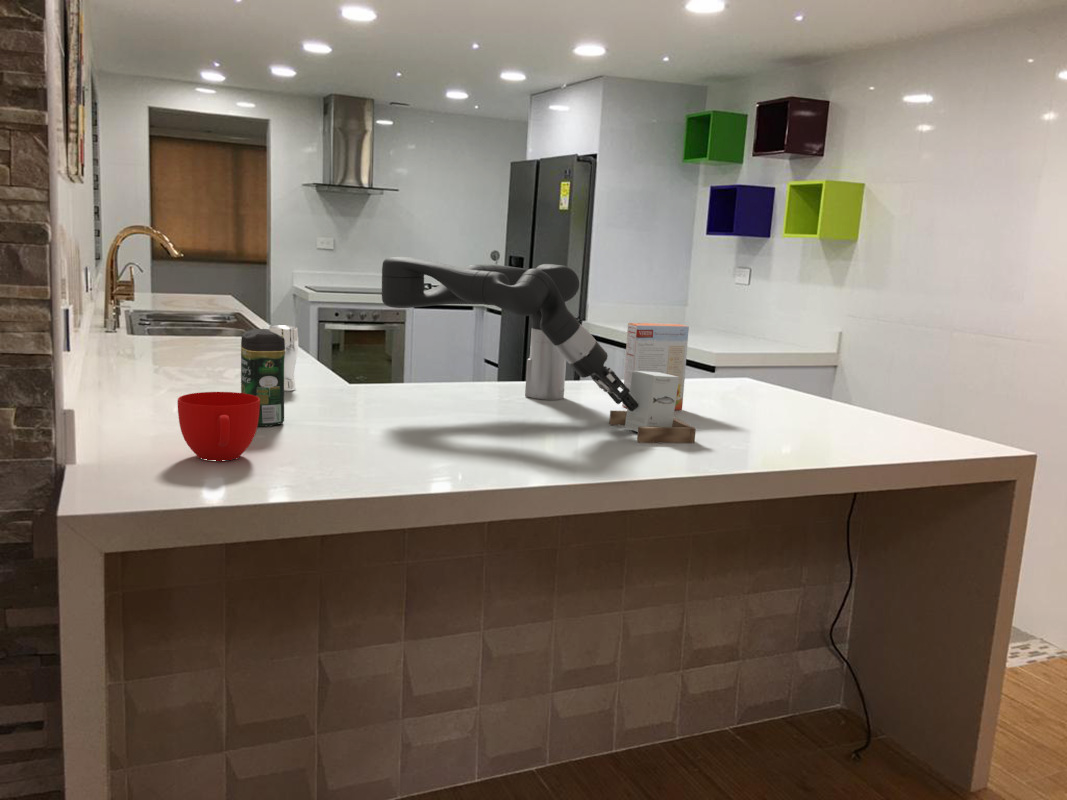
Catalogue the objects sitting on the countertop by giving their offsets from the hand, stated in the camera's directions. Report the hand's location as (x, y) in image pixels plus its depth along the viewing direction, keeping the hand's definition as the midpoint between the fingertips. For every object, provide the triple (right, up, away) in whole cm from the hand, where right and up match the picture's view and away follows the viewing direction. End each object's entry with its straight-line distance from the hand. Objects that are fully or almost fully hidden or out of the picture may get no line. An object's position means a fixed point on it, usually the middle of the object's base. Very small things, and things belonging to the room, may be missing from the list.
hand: (628, 404), depth 197 cm
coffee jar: (-74, -4, -15) cm, 76 cm away
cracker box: (+9, -1, +28) cm, 29 cm away
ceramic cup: (-72, -9, -45) cm, 86 cm away
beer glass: (-81, +3, +22) cm, 84 cm away
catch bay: (+4, -6, -2) cm, 7 cm away
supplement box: (+4, -6, -1) cm, 7 cm away
